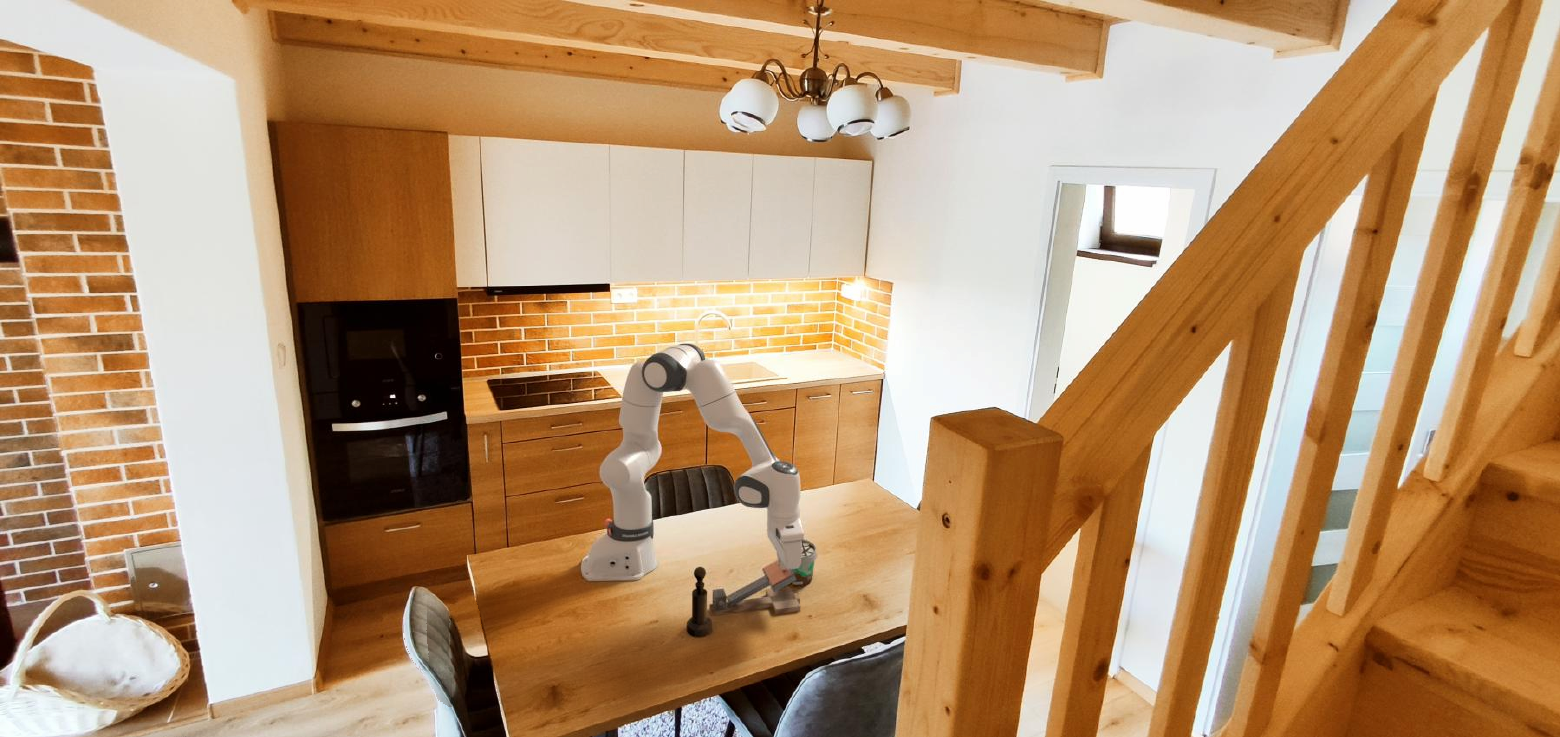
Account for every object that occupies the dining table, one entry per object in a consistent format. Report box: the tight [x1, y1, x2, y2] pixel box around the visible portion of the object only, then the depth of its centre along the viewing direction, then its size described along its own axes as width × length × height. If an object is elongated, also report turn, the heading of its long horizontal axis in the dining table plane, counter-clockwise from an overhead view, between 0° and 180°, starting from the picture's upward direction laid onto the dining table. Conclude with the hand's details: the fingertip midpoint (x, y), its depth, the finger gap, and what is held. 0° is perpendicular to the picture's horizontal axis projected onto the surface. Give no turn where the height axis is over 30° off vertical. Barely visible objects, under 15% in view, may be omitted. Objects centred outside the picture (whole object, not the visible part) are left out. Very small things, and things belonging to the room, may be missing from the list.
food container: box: [791, 538, 818, 588], centre depth 216 cm, size 12×6×10 cm, turn 168°
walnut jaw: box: [708, 586, 801, 616], centre depth 202 cm, size 25×10×6 cm, turn 106°
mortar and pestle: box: [686, 566, 713, 638], centre depth 189 cm, size 7×6×18 cm
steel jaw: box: [726, 559, 797, 607], centre depth 201 cm, size 20×10×2 cm, turn 105°
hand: (782, 567), depth 202 cm, fingers closed
